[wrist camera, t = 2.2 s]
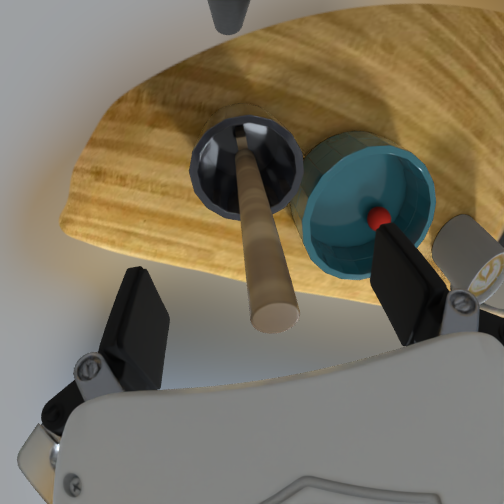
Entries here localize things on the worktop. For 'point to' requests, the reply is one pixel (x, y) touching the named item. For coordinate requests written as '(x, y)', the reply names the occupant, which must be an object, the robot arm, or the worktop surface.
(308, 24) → the worktop surface
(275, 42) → the worktop surface
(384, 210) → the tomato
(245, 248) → the paddle
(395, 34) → the worktop surface
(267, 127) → the crock
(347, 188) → the bowl
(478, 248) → the coffee mug
